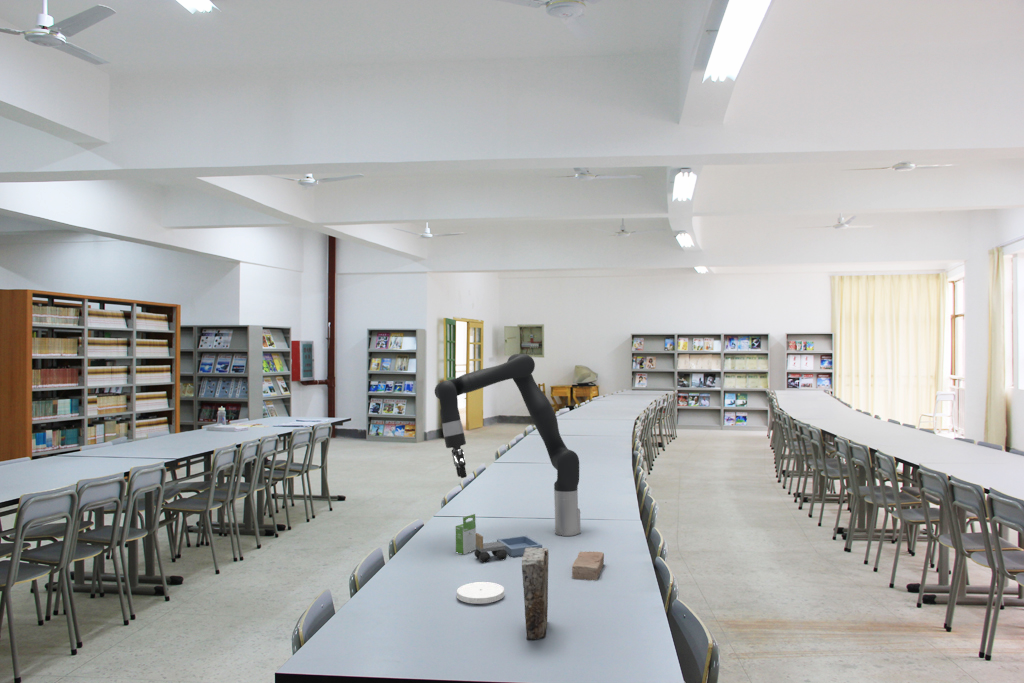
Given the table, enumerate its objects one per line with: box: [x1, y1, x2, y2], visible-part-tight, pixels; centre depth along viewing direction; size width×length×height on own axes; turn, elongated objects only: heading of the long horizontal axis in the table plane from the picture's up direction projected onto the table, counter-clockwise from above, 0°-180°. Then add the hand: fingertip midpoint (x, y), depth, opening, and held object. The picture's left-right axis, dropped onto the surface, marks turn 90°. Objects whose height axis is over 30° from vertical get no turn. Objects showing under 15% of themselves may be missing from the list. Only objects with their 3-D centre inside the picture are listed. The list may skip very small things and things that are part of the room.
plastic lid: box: [456, 581, 505, 604], centre depth 204 cm, size 14×14×2 cm
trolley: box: [473, 532, 508, 563], centre depth 241 cm, size 10×6×9 cm, turn 112°
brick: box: [571, 551, 605, 581], centre depth 226 cm, size 17×8×5 cm, turn 165°
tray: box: [496, 535, 543, 558], centre depth 251 cm, size 12×14×3 cm
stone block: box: [521, 547, 549, 641], centre depth 179 cm, size 13×7×20 cm, turn 178°
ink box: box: [455, 513, 477, 555], centre depth 251 cm, size 7×4×13 cm, turn 141°
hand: (462, 477), depth 255 cm, fingers open, 8 cm apart
